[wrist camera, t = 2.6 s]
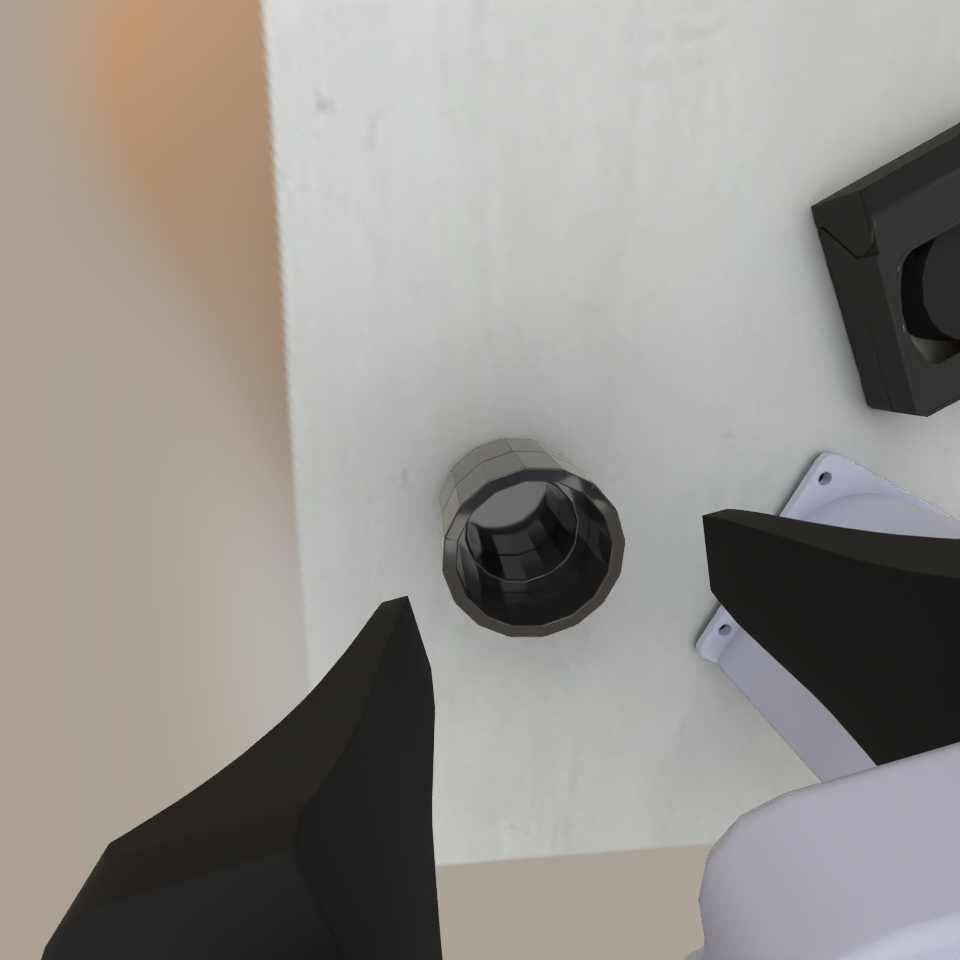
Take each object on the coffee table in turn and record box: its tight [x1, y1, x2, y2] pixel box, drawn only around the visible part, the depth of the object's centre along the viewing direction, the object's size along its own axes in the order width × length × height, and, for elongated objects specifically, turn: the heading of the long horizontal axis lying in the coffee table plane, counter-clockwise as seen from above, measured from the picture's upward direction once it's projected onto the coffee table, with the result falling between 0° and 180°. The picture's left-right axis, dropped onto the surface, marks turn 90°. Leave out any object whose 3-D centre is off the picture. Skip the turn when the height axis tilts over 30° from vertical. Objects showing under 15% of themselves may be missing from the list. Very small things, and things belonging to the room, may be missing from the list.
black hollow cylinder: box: [439, 439, 625, 637], centre depth 16 cm, size 5×5×4 cm
